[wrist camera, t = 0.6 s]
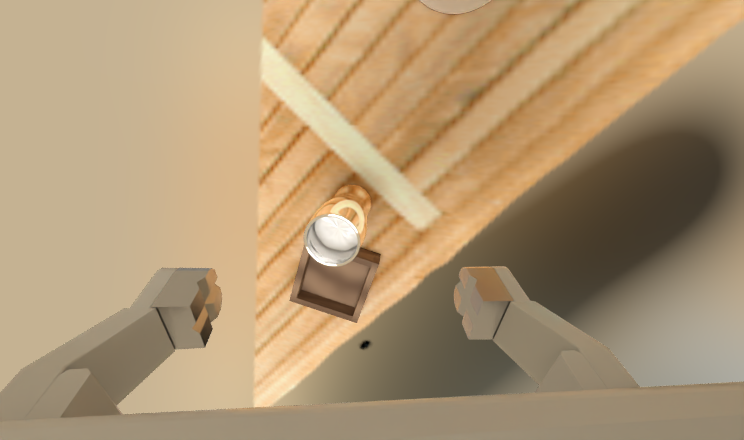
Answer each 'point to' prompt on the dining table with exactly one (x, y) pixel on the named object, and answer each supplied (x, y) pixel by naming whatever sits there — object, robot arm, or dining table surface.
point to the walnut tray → (335, 284)
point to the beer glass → (339, 227)
